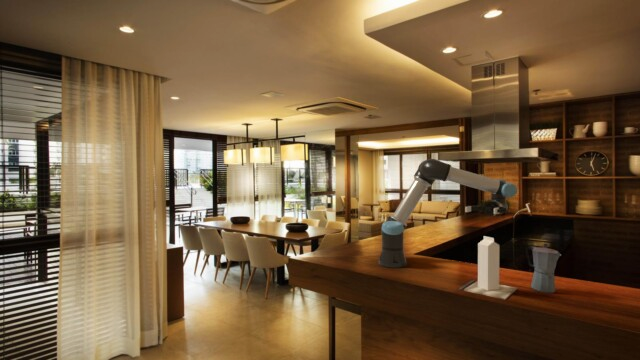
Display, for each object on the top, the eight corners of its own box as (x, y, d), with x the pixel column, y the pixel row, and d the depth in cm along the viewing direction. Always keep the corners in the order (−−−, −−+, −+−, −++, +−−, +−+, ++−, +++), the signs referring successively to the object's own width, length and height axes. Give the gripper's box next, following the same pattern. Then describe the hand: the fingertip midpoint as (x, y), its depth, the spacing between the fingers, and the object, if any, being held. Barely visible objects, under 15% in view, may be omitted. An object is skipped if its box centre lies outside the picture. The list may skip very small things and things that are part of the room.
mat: (457, 289, 150) (457, 287, 150) (472, 280, 163) (472, 279, 163) (505, 299, 138) (505, 298, 138) (517, 289, 151) (517, 287, 151)
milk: (487, 290, 147) (488, 238, 146) (477, 286, 152) (477, 236, 152) (499, 289, 148) (499, 237, 148) (488, 285, 154) (489, 235, 154)
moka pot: (554, 296, 142) (554, 247, 142) (517, 286, 155) (518, 241, 155) (567, 293, 146) (567, 245, 146) (530, 283, 160) (531, 239, 160)
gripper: (518, 216, 182) (507, 219, 166) (469, 213, 199) (454, 216, 183) (518, 202, 182) (507, 204, 166) (469, 200, 199) (455, 201, 183)
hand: (479, 210), depth 174 cm, fingers open, 13 cm apart
